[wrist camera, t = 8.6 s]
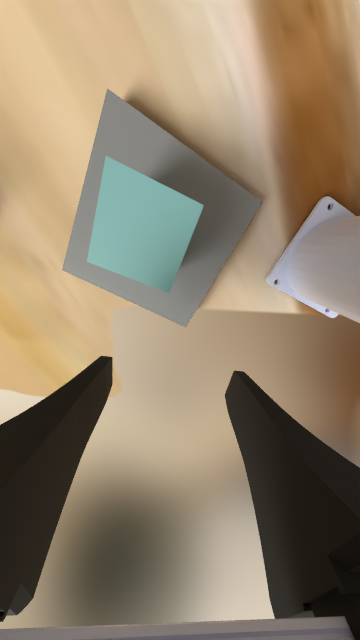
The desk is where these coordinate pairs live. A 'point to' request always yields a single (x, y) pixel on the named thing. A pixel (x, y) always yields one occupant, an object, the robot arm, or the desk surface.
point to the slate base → (178, 174)
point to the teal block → (141, 227)
